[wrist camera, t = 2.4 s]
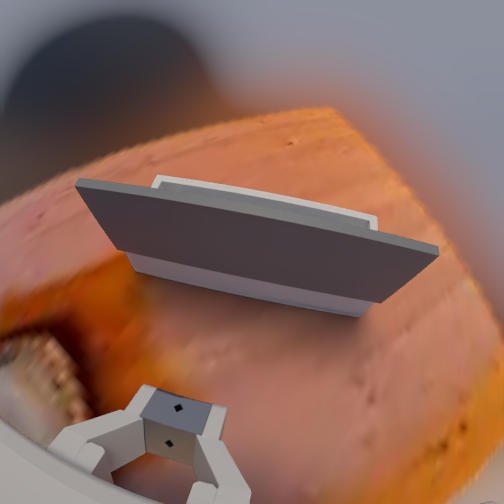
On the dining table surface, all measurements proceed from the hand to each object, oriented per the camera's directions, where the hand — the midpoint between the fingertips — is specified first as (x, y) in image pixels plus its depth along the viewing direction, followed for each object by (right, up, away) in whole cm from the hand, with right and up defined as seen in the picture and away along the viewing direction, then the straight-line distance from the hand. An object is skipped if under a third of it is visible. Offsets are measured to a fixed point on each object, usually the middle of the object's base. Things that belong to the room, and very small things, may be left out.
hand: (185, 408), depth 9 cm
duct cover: (+2, +6, +16) cm, 17 cm away
